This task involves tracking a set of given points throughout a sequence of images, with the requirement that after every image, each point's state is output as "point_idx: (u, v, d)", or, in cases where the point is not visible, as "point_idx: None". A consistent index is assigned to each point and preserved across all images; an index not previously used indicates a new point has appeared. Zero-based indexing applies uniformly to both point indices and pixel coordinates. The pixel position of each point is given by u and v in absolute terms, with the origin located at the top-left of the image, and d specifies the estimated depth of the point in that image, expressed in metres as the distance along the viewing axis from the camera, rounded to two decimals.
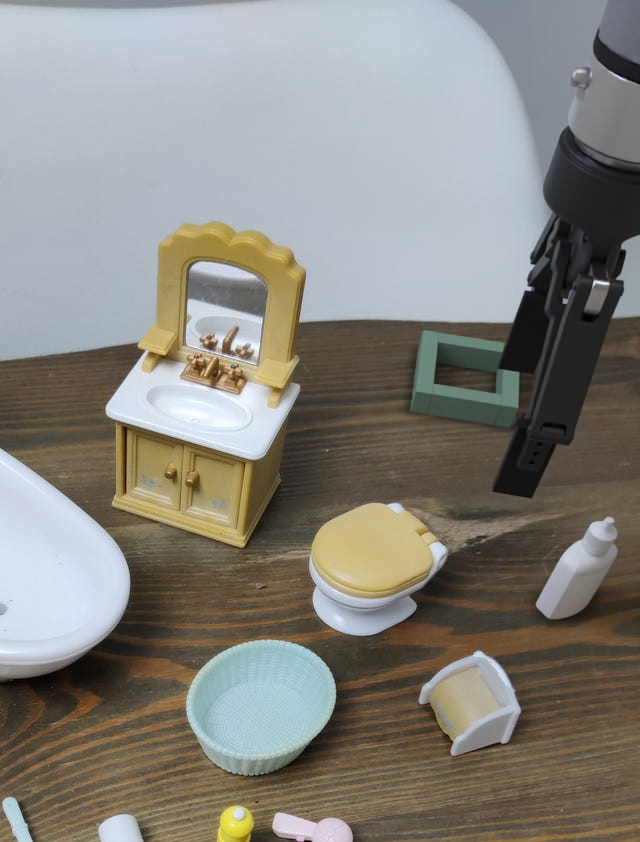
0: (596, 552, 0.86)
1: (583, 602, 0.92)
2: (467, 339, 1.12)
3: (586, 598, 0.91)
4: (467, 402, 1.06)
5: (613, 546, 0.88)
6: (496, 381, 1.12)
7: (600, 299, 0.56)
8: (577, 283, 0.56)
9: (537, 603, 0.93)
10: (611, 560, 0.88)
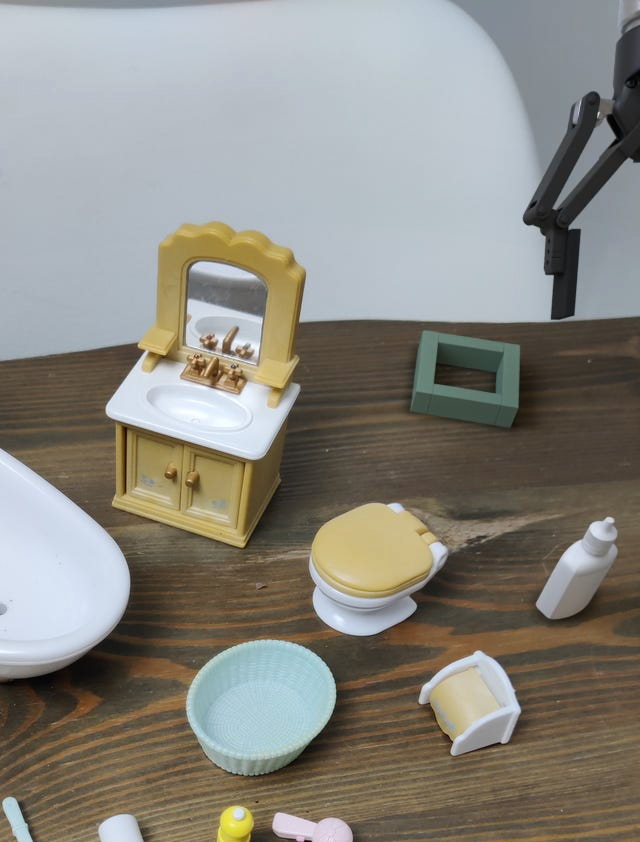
0: (596, 552, 0.86)
1: (583, 602, 0.92)
2: (467, 339, 1.12)
3: (586, 598, 0.91)
4: (467, 402, 1.06)
5: (613, 546, 0.88)
6: (496, 381, 1.12)
7: (578, 107, 0.76)
8: None
9: (537, 603, 0.93)
10: (611, 560, 0.88)
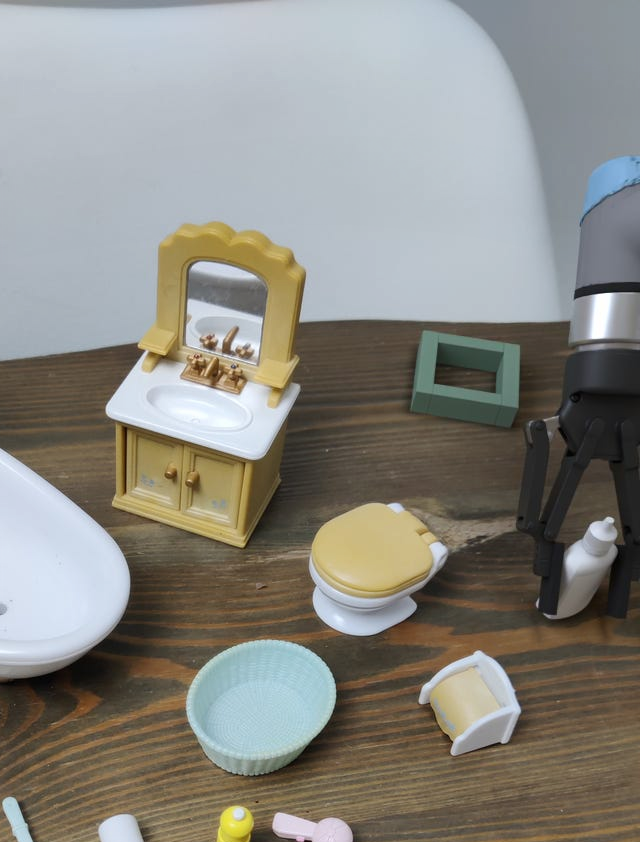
0: (596, 552, 0.86)
1: (583, 602, 0.92)
2: (467, 339, 1.12)
3: (586, 598, 0.91)
4: (467, 402, 1.06)
5: (613, 546, 0.88)
6: (496, 381, 1.12)
7: (529, 432, 0.87)
8: None
9: (537, 603, 0.93)
10: (611, 560, 0.88)
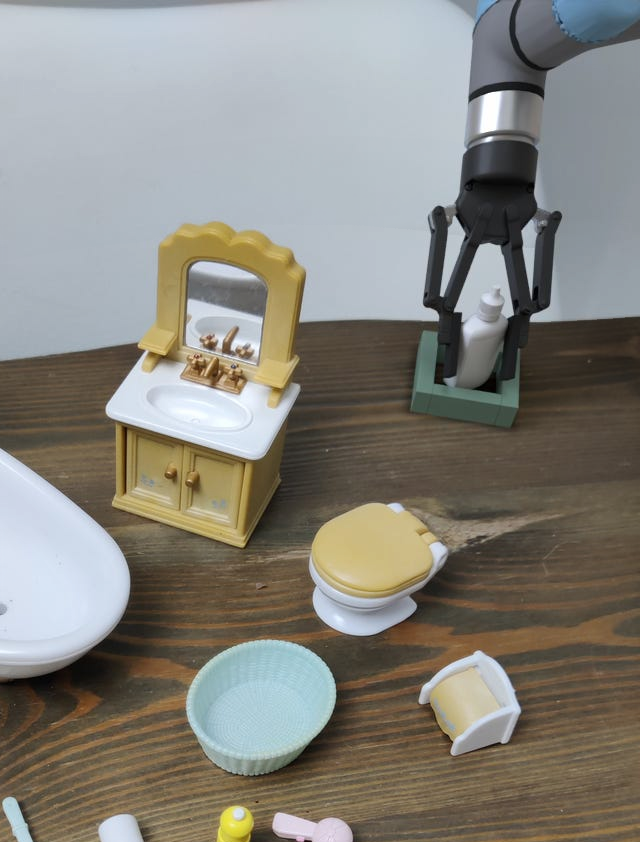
0: (488, 318, 1.03)
1: (482, 372, 1.08)
2: None
3: (484, 368, 1.07)
4: (467, 402, 1.06)
5: (504, 317, 1.04)
6: (496, 381, 1.12)
7: (431, 219, 1.03)
8: None
9: None
10: (501, 328, 1.04)
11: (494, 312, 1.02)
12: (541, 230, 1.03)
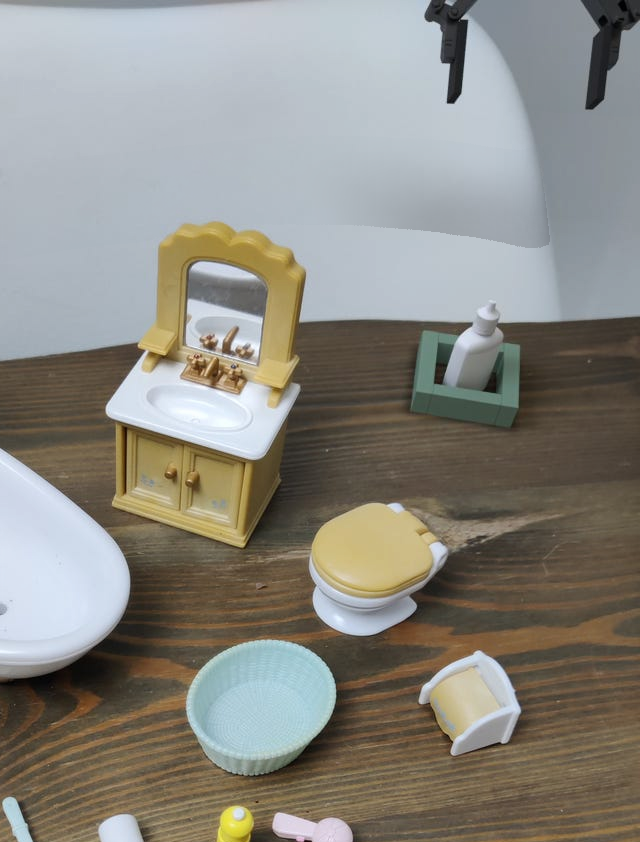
0: (484, 332, 1.04)
1: (478, 384, 1.09)
2: None
3: (480, 380, 1.09)
4: (467, 402, 1.06)
5: (499, 330, 1.06)
6: (496, 381, 1.12)
7: None
8: None
9: None
10: (497, 341, 1.05)
11: (490, 326, 1.03)
12: None
